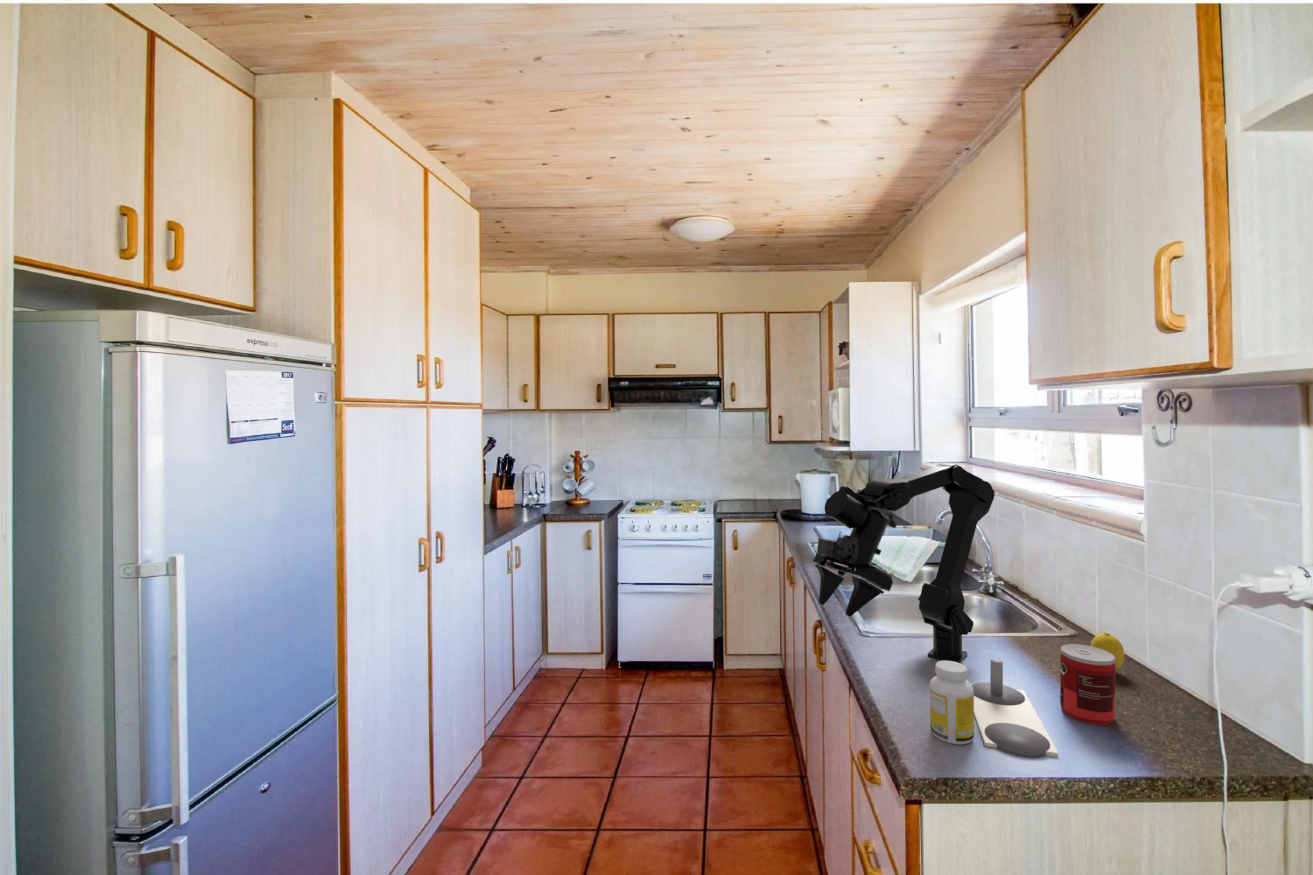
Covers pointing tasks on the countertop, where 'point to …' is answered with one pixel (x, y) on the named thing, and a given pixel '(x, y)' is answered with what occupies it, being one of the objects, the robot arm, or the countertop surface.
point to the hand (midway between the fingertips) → (833, 609)
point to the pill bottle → (951, 703)
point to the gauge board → (1009, 718)
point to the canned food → (1087, 684)
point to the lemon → (1109, 646)
